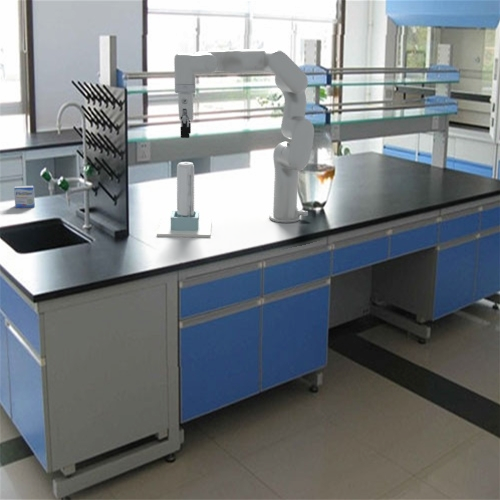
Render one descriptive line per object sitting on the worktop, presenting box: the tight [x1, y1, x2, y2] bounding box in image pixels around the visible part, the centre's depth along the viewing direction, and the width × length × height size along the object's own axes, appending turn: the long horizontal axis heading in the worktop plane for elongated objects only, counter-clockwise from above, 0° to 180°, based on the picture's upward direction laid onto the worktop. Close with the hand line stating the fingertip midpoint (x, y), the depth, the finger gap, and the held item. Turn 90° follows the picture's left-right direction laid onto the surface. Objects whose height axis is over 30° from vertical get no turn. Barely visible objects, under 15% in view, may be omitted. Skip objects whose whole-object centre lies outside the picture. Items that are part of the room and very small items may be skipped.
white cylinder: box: [176, 161, 195, 217], centre depth 276 cm, size 6×6×25 cm
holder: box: [156, 210, 212, 238], centre depth 279 cm, size 20×20×6 cm
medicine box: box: [13, 185, 36, 209], centre depth 304 cm, size 8×4×9 cm, turn 105°
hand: (185, 135), depth 269 cm, fingers open, 9 cm apart
